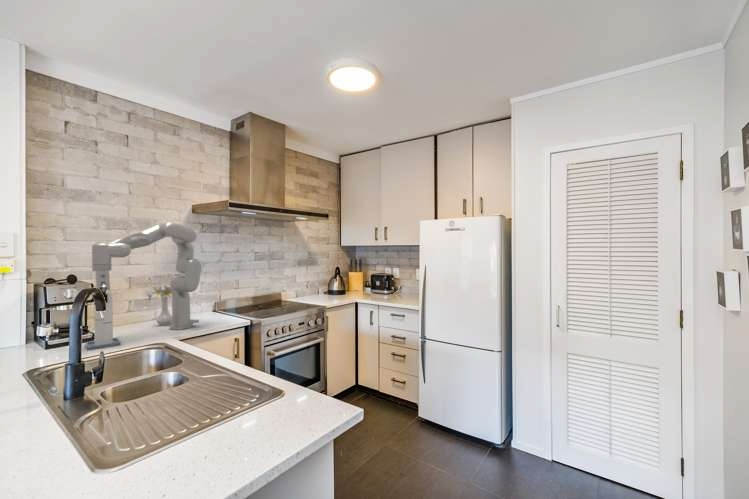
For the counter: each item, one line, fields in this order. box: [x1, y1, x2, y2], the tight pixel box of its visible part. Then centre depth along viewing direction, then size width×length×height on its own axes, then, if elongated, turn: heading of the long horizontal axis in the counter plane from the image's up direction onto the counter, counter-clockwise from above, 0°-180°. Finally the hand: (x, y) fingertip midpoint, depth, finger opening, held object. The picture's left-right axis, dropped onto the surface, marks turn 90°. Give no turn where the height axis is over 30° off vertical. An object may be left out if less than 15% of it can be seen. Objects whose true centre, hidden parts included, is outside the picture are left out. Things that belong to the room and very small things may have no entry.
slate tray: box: [85, 337, 122, 351], centre depth 170 cm, size 13×13×2 cm
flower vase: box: [145, 285, 172, 327], centre depth 216 cm, size 13×18×25 cm
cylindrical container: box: [93, 292, 114, 346], centre depth 170 cm, size 7×7×25 cm
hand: (102, 302), depth 170 cm, fingers open, 9 cm apart
